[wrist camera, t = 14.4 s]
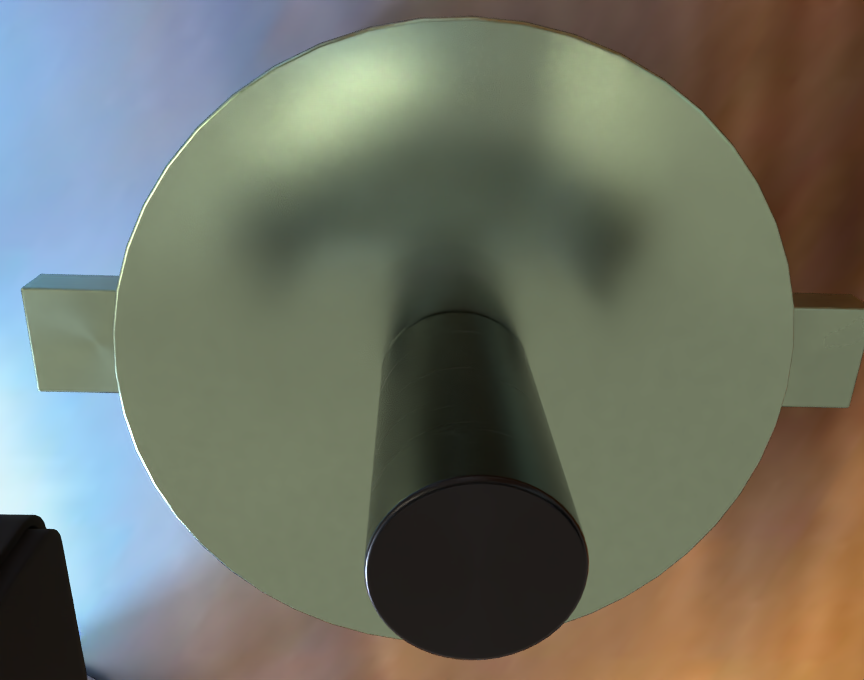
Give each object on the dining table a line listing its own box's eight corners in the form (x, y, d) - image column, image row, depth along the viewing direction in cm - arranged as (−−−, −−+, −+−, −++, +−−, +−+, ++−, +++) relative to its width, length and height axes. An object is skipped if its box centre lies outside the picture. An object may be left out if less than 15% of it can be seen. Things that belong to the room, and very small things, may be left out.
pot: (119, 17, 22) (-47, 23, 14) (772, 40, 22) (964, 57, 15) (163, 426, 27) (58, 601, 19) (699, 436, 27) (815, 610, 19)
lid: (91, 2, 14) (-185, -3, 8) (834, 28, 15) (1177, 45, 8) (163, 605, 20) (35, 911, 13) (713, 611, 20) (861, 911, 13)
